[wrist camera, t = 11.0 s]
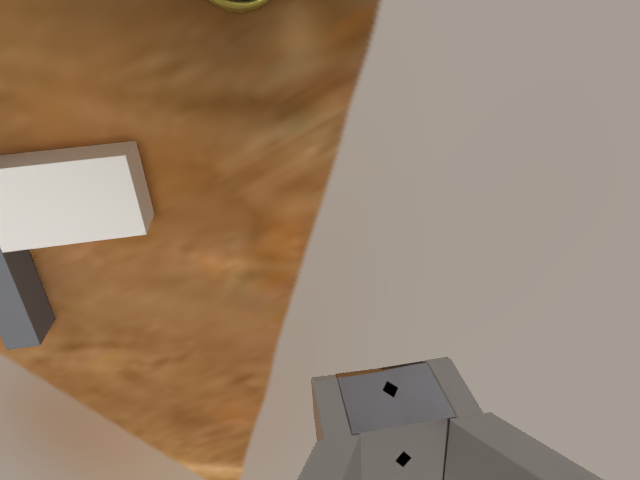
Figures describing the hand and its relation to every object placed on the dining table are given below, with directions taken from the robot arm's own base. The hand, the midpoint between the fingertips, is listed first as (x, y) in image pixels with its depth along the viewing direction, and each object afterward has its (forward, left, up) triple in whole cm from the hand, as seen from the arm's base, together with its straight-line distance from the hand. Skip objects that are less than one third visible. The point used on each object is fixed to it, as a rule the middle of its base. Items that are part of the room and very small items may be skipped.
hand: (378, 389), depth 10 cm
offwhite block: (+4, -16, -29) cm, 34 cm away
